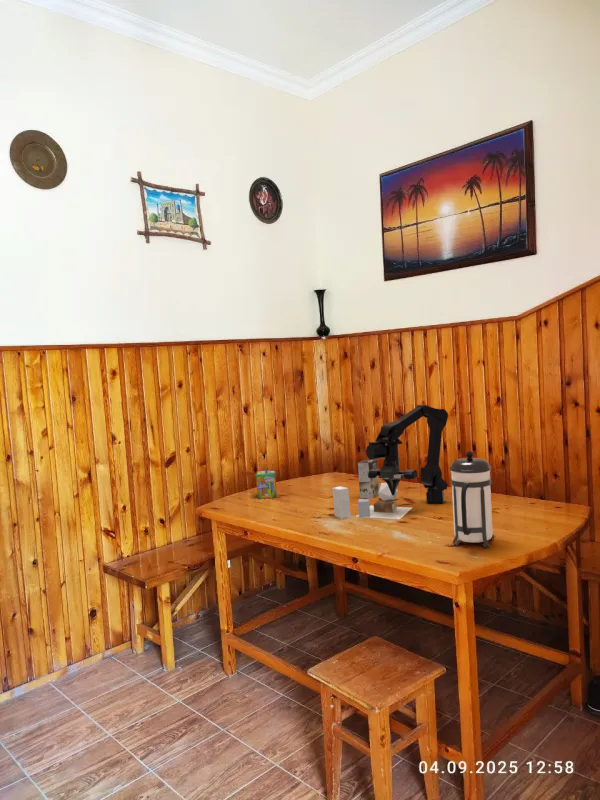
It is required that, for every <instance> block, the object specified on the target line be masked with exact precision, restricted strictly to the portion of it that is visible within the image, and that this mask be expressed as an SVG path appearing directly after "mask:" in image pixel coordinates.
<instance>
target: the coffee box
mask: <svg viewBox="0 0 600 800" xmlns="http://www.w3.org/2000/svg"><path fill="white" fill-rule="evenodd" d="M378 460H379V459H372V460H370V459H369V458H367V459H364V460H361V461H359V462H357V468H358V487H359V490H358V491H359V499H375V497H377V496H379V495H378V492H379V488H380V482H379V480H380V479H379V476H377V477H376V478H368V472H369V471H370V470H372V469H379V464H378V463H379V462H378Z"/></svg>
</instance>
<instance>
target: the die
mask: <svg viewBox="0 0 600 800" xmlns="http://www.w3.org/2000/svg"><path fill="white" fill-rule="evenodd" d="M398 492H399V490H398V488H397V490H396V493H395V495H394V496H393V495H392V494H391V491H390V489H389V487H388V485H387V483H386V482H381V483H380V484H379V492H378V495H377V496H379V498H380V500H381V501H388V502H391V501H396V499H397V496H398Z"/></svg>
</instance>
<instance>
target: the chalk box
mask: <svg viewBox="0 0 600 800" xmlns="http://www.w3.org/2000/svg"><path fill="white" fill-rule="evenodd" d="M268 466H269V465H268V464H267V465H266V467H265V470H257V471H256V475H255V476H256V478H255V479H256V492H257V493H256V494H257V495H256V496H257V499H272V498H277V497H278V496H277V494H278V493H277V492H278V491H277V478H276V470H268Z"/></svg>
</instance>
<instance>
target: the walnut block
mask: <svg viewBox="0 0 600 800" xmlns="http://www.w3.org/2000/svg"><path fill="white" fill-rule="evenodd" d="M373 506H374V512H386V513H394V512H395V511H396V510H397V507H398V503H397V501H382V500H381V501H380V500H378V501H376V502H374V503H373Z"/></svg>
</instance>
